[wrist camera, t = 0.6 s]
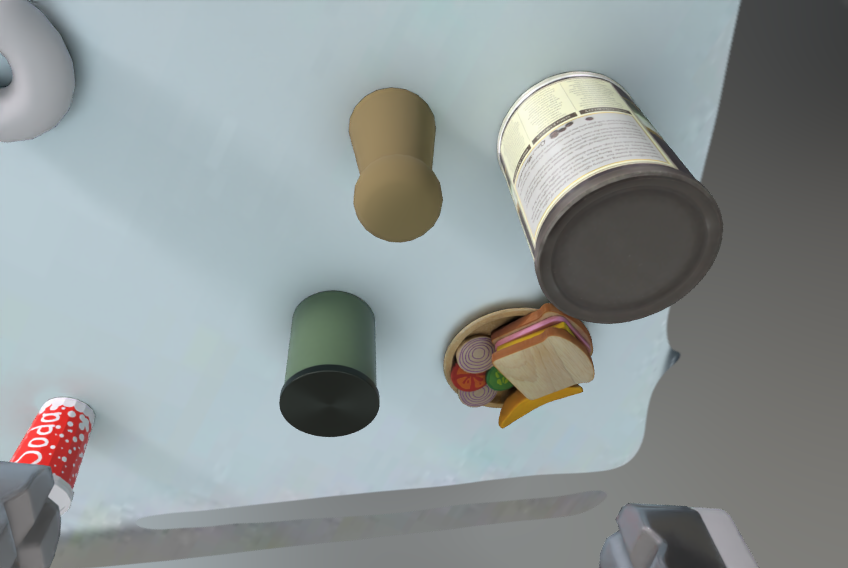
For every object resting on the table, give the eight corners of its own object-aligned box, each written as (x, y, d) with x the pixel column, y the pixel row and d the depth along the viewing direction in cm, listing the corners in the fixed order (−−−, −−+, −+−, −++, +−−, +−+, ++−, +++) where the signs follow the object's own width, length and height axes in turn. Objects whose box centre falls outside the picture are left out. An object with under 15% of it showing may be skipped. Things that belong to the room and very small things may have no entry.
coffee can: (668, 103, 46) (764, 211, 35) (587, 218, 52) (648, 343, 41) (542, 44, 43) (605, 143, 32) (470, 174, 49) (503, 296, 38)
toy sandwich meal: (417, 336, 58) (421, 376, 55) (559, 273, 55) (574, 310, 51) (478, 415, 65) (485, 454, 62) (606, 362, 62) (622, 401, 58)
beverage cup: (102, 395, 60) (44, 537, 49) (106, 437, 64) (52, 579, 53) (28, 388, 59) (-48, 532, 48) (37, 432, 62) (-33, 575, 51)
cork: (400, 69, 43) (409, 146, 35) (452, 136, 47) (473, 221, 38) (330, 123, 45) (323, 208, 37) (385, 183, 48) (390, 275, 40)
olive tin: (273, 307, 55) (259, 391, 48) (353, 276, 54) (351, 357, 46) (316, 363, 59) (310, 448, 52) (391, 336, 58) (395, 418, 51)
